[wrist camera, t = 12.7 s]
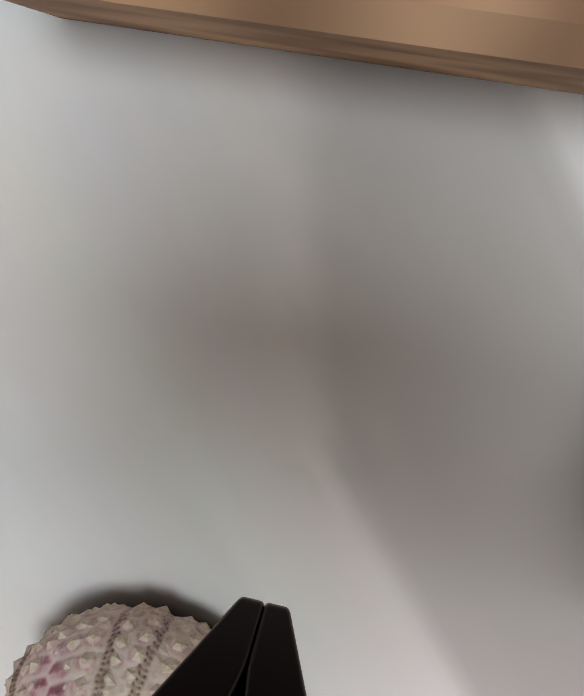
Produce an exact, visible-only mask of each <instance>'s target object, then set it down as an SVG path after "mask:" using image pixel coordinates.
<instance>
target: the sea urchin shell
mask: <svg viewBox="0 0 584 696" xmlns="http://www.w3.org/2000/svg"><path fill="white" fill-rule="evenodd" d="M210 630H211V629H210V627H209V626H208V624H207V623H206V622H201V623H199V622H197V621H196V620H194V618H193V617H192V616H189V617H178V616H174V615H172V614H171V613H170V611H169V609H168V607H167V606H162V607H158V608H154V607H152V606H151V605H147V604H146V603H145V602H143V603H141V604H139V605H137V606H135V607H133V608H132V607H128V606H126V605H125V604H121V605H118V604H116V603H113V604H111V605H110V604H109V603H106V604H105V605H104V606H102V607H101V608H98V607H94V608H93V609H88V610H86V611H84V612H82V613H81V614H70V615H67V617H66V618H65V619H64V621H63V622H62V623H61V625H54V626H51V628H50V629H48V630H47V632H46V633H45V635H44V637H43V638H42V639H41V640H40V642H38V643H36V644H32V645H28V646H27V648H26V651H25V654H24V656H23V657H22V658H20V659H18V660H16V661H14V673H13V675H11V676H10V677H9V678H8V679H6V683H5V686H6V691H7V693H6V695H5V696H151V695H152V694H153V693H154V692H155V691H156V690H157V689H158V688H159V687H160V685H161V684H162V683H163V682H164V681H165V680H166V679H167V678H168V677H169V676H170V674H171V673H172V672H173V671H174V670H175V669H176V668H177V667H178V666H179V664H180V663H181V662H182V661H183V660H184V659H185V658H186V657H187V656H188V655H189V653H190V652H191V651H192V650H193V649H194V648H195V647H196V646H197V645H198V643H199V642H200V641H201V640H202V639H203V638H204V637H205V636H206V635H207V634H208V632H209V631H210Z"/></svg>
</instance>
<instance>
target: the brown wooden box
mask: <svg viewBox="0 0 584 696" xmlns="http://www.w3.org/2000/svg"><path fill="white" fill-rule="evenodd" d="M6 1H9V2H12V3H15V4H18V5H21V6H25V7H28V8H31V9H34V10H37V11H41V12H44V13H47V14H50V15H53V16H56V17H60V18H64V19H71V20H78V21H85V22H92V23H99V24H106V25H112V26H119V27H126V28H133V29H140V30H147V31H154V32H160V33H167V34H174V35H181V36H188V37H195V38H202V39H208V40H215V41H222V42H229V43H236V44H243V45H250V46H256V47H263V48H270V49H277V50H284V51H291V52H298V53H304V54H311V55H318V56H325V57H332V58H339V59H346V60H352V61H359V62H366V63H373V64H380V65H387V66H394V67H400V68H407V69H414V70H421V71H428V72H435V73H442V74H448V75H455V76H462V77H469V78H476V79H483V80H490V81H496V82H503V83H510V84H517V85H524V86H531V87H538V88H544V89H551V90H558V91H565V92H572V93H579V94H584V0H6Z"/></svg>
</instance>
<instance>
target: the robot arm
mask: <svg viewBox="0 0 584 696" xmlns="http://www.w3.org/2000/svg"><path fill="white" fill-rule="evenodd" d="M151 696H306V691H305V686H304V681H303V675H302V670H301V665H300V660H299V655H298V650H297V645H296V640H295V635H294V630H293V625H292V620H291V614H290V611H289V609H288V608H287V607H284V606H280V605H275V604H271V603H267V604H266V605H265V606H264V603H263V602H262V601H259V600H255V599H251V598H247V597H241V598H240V599H238V600H237V601H236V603H235V604H234V605H233V606H232V607H231V608H230V609H229V610H228V611H227V613H226V614H225V615H224V616H223V617H222V618H221V619H220V620H219V621H218V622H217V624H216V625H215V626H214V627H213V628H212V629H211V630H210V631H209V632H208V634H207V635H206V636H205V637H204V638H203V639H202V640H201V641H200V642H199V643H198V645H197V646H196V647H195V648H194V649H193V650H192V651H191V652H190V653H189V655H188V656H187V657H186V658H185V659H184V660H183V661H182V662H181V663H180V664H179V666H178V667H177V668H176V669H175V670H174V671H173V672H172V673H171V674H170V676H169V677H168V678H167V679H166V680H165V681H164V682H163V683H162V684H161V685H160V687H159V688H158V689H157V690H156V691H155V692H154V693H153V694H152V695H151Z"/></svg>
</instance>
